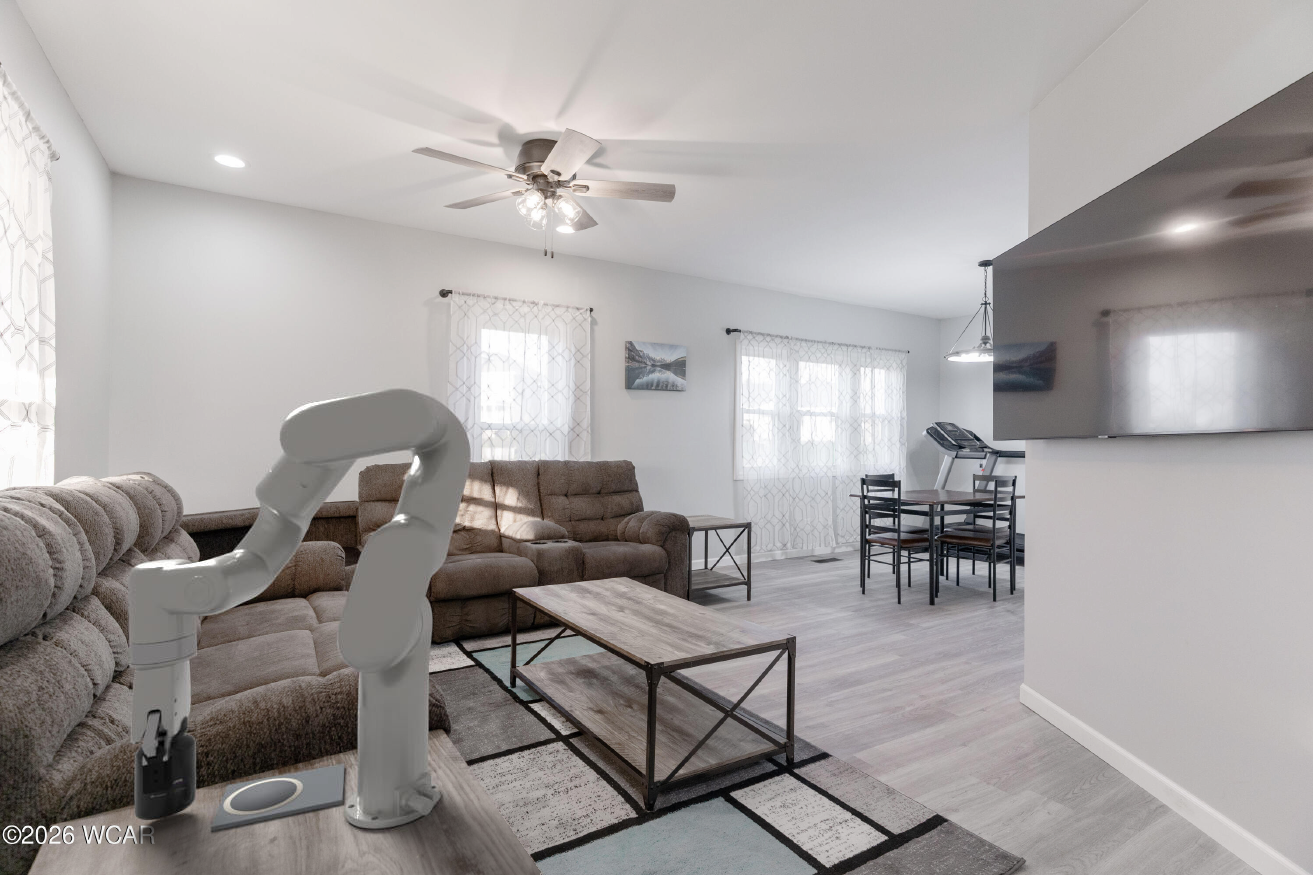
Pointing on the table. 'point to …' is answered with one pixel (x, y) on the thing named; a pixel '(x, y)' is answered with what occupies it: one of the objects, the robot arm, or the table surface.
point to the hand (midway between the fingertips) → (166, 776)
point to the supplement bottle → (183, 779)
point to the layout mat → (280, 796)
